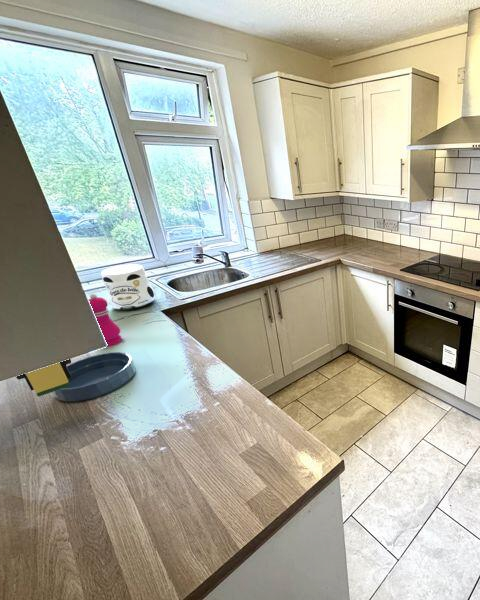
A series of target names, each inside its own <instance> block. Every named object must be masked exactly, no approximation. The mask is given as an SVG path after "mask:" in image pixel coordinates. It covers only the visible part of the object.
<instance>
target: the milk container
mask: <svg viewBox="0 0 480 600" xmlns="http://www.w3.org/2000/svg"><path fill="white" fill-rule="evenodd" d="M100 276H101V280H102V281H103V285H104V286H105V289H106V293H107V296H106V297H107V303H108V305H110V307H111V308H113V309H114V310H119V311H128V310H129V311H130V310H135V309H140V308H142V307H146V306H147V305H150V304H151V303H152V302H153V301H155V299H156V298H155V297H156V293H155V291H154V288H153V287H152V285H151V284H150V282H149V280H148V276H147V274H146V270H145V268H144V267H143V265H142V264H122V265H117V266H113V267H109V268H106V269H103V270H102V271H101V272H100Z"/></svg>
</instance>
